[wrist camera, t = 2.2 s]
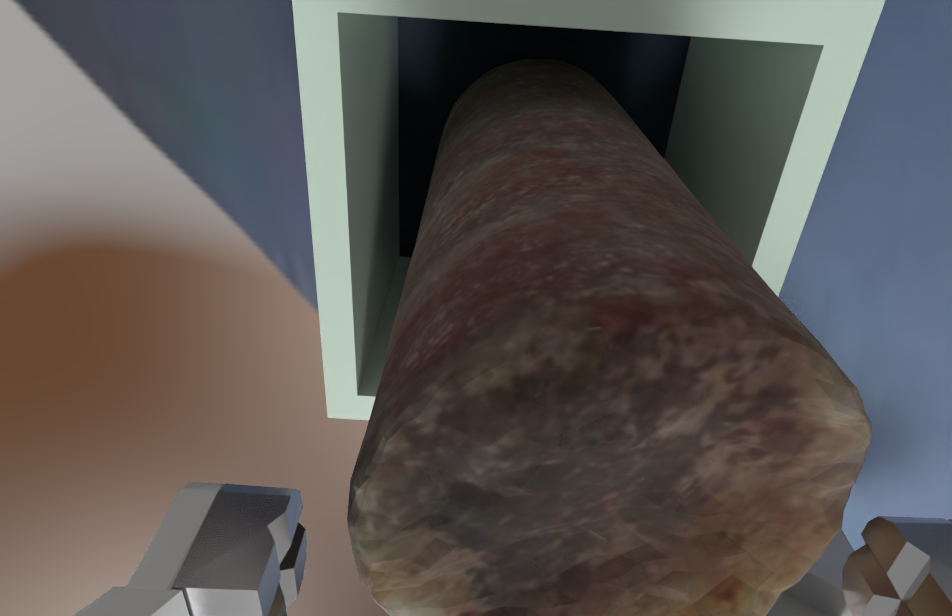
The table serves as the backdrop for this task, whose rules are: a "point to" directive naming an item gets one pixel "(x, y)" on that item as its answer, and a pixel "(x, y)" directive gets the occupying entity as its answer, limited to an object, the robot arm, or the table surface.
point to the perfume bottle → (818, 585)
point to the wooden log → (590, 385)
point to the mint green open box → (688, 153)
